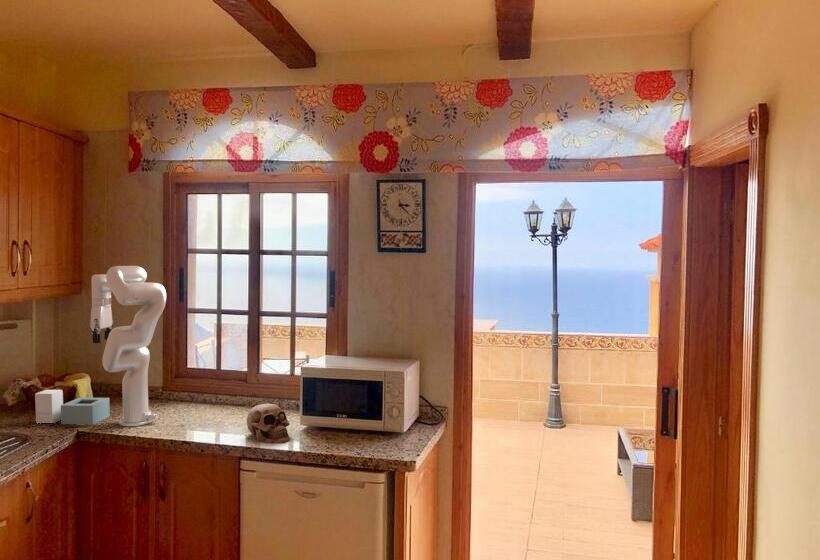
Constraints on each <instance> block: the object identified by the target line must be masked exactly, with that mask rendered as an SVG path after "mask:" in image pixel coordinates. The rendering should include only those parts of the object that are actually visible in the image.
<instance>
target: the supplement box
mask: <svg viewBox="0 0 820 560" xmlns="http://www.w3.org/2000/svg"><path fill="white" fill-rule="evenodd" d="M34 402H35V423H37V425H42V424H41V423H54V424H56V423H55V422H57V421H59V422H61V421H60V420H61V405H63V404H64V392H63V389H45V390H41V391H38V392H36V393H35V394H34ZM38 423H40V424H38ZM57 423H58V422H57Z"/></svg>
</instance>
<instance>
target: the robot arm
mask: <svg viewBox="0 0 820 560" xmlns="http://www.w3.org/2000/svg"><path fill="white" fill-rule="evenodd" d="M147 276H148V275H147V272H146V270H145V269H144V268H143V267H141V266H138V265H115V266H111V267H110V268H109V269H108V270H107V271H106V274H105V273H103V274H93V275H92V276H91V309H90V324H89V327H90V331H91V334H92V343H93V344H100V343H102V342H101V331H102V330H104V340H106V342H105V346H104V350H103V355H102V359H101V360H102V366H103V367H102V368H104V370H105V371H106V372H108V373H118V372H123V371H126V372H125V374H124V375H123V378H122V383H121V384H122V385H121V387H122V392H121V393H122V419H119V421H118V424H119V426H122V427H139V426H144V425H148V424H150V423H152V422H153V420H157V419H158V418H159V415H158V413H157V412H156V413H155V412H152V410H151V409H149V364H150V361H151V360H150V359H151V355H150V354H151V353H150V352H151V351H150V350H149V349H148V346H149V345H150V344H151V343H152V340H153V337H154V334H155V330H156V326H157V324H158V321H159V319H160V317H161V315H162V313H163V312H164V309H165V308H166V303H167V291H166V289H165V287H164V286H163V285H162V284H161V283H158V282H146V280H147ZM112 294H113V295H114V297H115V299H116V300H117V302H118V304H120V305H123V306H137V305H141V306H142V305H143V307H141V308H140V309H139V310H138V311H137V312H136V313H135V315H134V317H133V321H132V323H131V324H130V325H125V326H123V325H122V326H117V327H114V322H115V321H114V319H113V313H112V312H113V311H112ZM113 327H114V328H113Z"/></svg>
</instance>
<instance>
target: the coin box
mask: <svg viewBox="0 0 820 560" xmlns="http://www.w3.org/2000/svg"><path fill="white" fill-rule="evenodd" d="M110 412H111V411H110V397H78V398H76V399H73V400H71V401H68V402H65V403H63V405H61V421H60V423H61V424H88V425H87V426H94V425H97V424H98V423H100V422H102V421H104V420H106V419H108V418H110V417H109V416H110V415H111V413H110ZM107 417H108V418H107ZM103 419H104V420H103ZM101 420H102V421H101ZM99 421H100V422H99ZM61 424H60V425H61ZM93 424H94V425H93Z"/></svg>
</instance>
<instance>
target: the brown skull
mask: <svg viewBox="0 0 820 560" xmlns="http://www.w3.org/2000/svg"><path fill="white" fill-rule="evenodd" d="M290 425H291V424H290V421H289V420H288V419H287V416H286V412H285V411H284V410H282V409H281V407H279V405H277V404H273V403H262V404H257V405H255V406H254V407H252V408H250V410H249V411H248V413H247V416H246V427H247V430H248V431H249V433H251V434H252V435H253V436H254V437H256V440H257V442H261V443H262V442H263V443H267V444H269V443H270V444H284V443H287V442H289V441H290V440H291V437H290V435H289V433H288V430H287V429H288V428H287V427H288V426H290Z"/></svg>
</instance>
